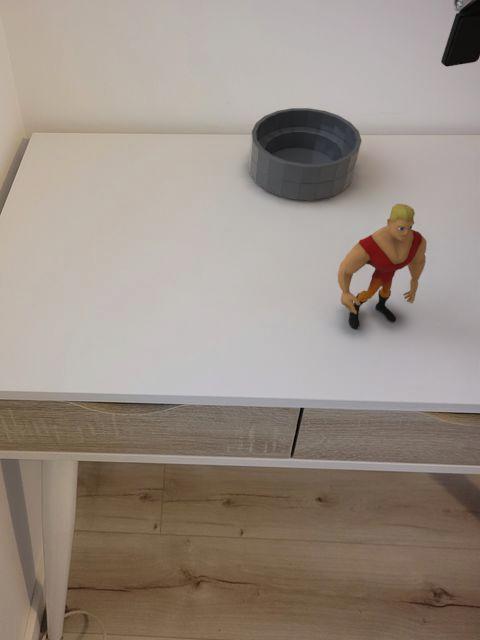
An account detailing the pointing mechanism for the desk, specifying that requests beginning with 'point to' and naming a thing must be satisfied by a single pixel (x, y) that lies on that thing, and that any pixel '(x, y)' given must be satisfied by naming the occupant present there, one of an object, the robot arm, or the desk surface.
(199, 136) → the desk surface
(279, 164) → the bowl
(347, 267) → the action figure
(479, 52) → the robot arm
